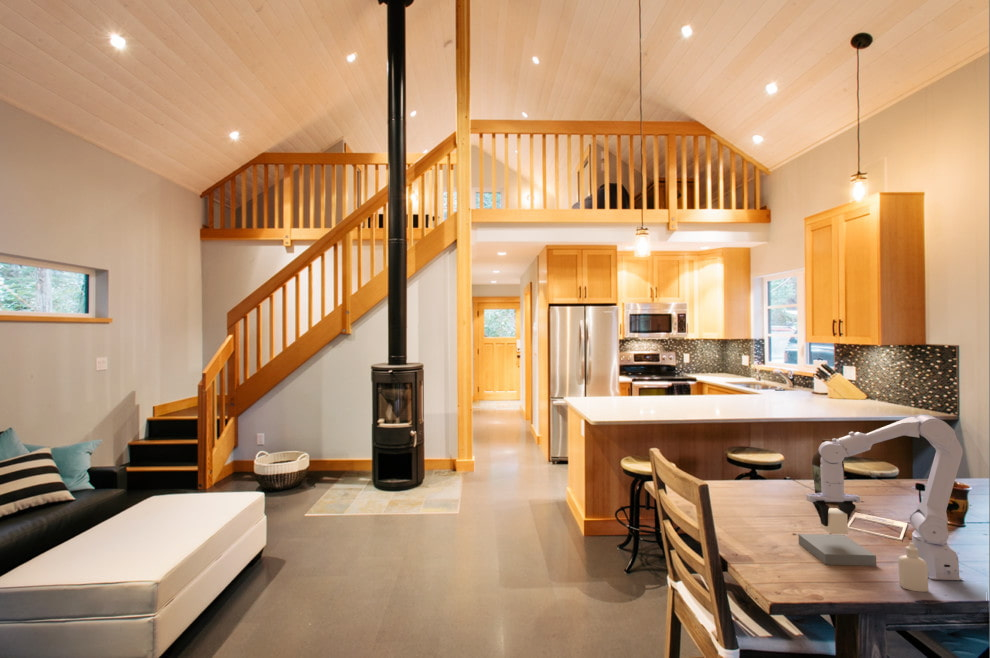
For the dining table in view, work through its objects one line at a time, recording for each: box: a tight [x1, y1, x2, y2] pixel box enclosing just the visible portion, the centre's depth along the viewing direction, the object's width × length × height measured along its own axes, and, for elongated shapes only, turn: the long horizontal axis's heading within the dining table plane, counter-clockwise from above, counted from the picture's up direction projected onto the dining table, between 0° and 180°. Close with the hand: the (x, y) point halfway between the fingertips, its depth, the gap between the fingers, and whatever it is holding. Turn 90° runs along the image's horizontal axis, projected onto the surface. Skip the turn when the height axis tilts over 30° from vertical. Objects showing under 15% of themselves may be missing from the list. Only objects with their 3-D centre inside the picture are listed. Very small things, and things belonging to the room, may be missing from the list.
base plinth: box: [798, 533, 877, 567], centre depth 140 cm, size 14×14×3 cm
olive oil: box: [811, 438, 845, 506], centre depth 184 cm, size 11×11×25 cm
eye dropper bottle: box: [897, 542, 929, 593], centre depth 120 cm, size 4×6×12 cm
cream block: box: [819, 507, 849, 535], centre depth 140 cm, size 5×5×6 cm
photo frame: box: [848, 512, 908, 542], centre depth 159 cm, size 15×1×18 cm
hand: (834, 525), depth 140 cm, fingers closed on cream block, 5 cm apart
